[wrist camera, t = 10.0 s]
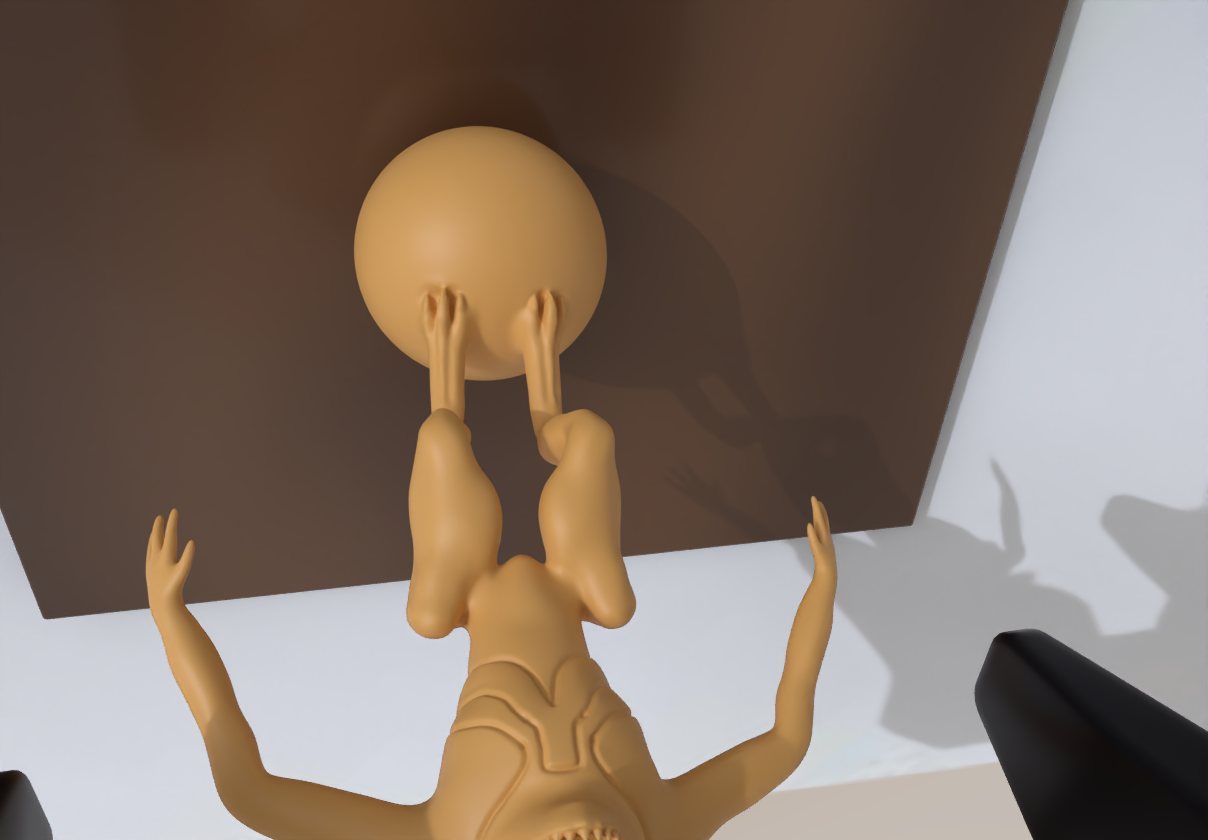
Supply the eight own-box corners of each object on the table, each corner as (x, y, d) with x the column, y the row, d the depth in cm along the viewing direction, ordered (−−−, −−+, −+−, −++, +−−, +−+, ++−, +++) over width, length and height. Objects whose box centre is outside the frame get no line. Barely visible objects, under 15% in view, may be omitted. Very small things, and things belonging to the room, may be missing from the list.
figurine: (712, 118, 16) (1223, 581, 7) (655, 405, 20) (945, 1005, 10) (210, 72, 14) (-122, 649, 5) (237, 402, 17) (74, 1161, 8)
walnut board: (1056, -52, 17) (1084, -46, 16) (898, 507, 24) (913, 526, 23) (-206, -93, 13) (-237, -87, 12) (53, 595, 20) (43, 621, 19)
